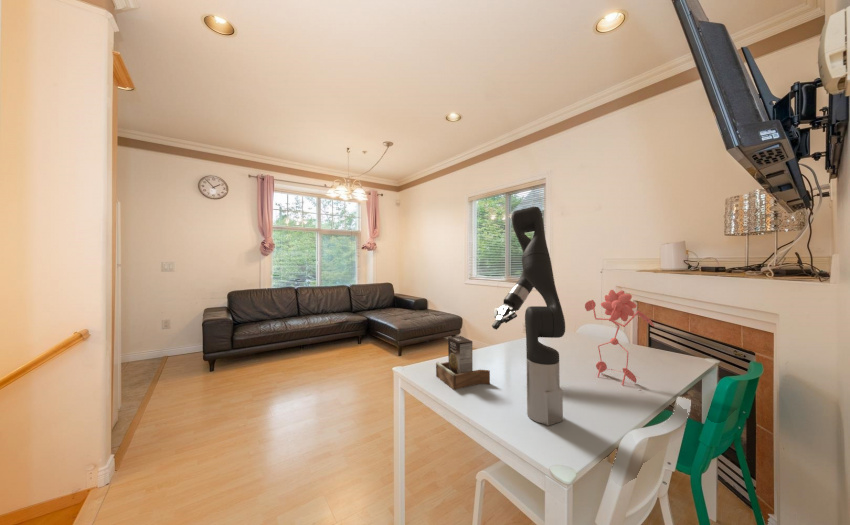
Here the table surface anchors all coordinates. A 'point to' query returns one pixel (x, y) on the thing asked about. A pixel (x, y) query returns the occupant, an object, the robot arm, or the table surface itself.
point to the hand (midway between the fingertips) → (494, 328)
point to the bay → (461, 376)
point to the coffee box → (460, 354)
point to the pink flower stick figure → (617, 309)
